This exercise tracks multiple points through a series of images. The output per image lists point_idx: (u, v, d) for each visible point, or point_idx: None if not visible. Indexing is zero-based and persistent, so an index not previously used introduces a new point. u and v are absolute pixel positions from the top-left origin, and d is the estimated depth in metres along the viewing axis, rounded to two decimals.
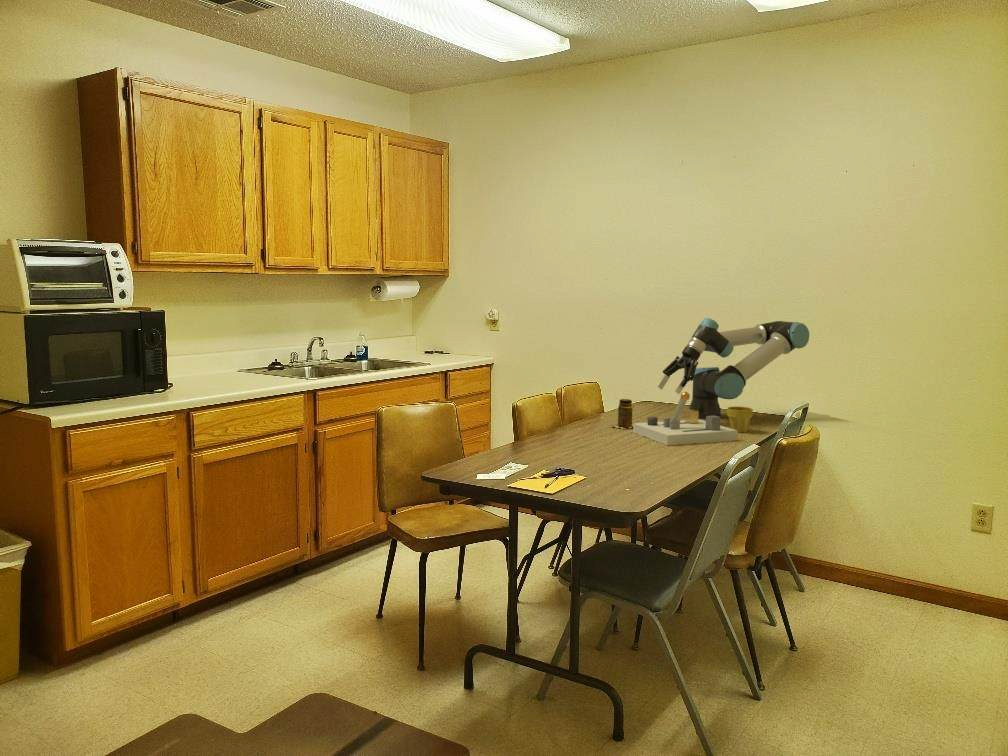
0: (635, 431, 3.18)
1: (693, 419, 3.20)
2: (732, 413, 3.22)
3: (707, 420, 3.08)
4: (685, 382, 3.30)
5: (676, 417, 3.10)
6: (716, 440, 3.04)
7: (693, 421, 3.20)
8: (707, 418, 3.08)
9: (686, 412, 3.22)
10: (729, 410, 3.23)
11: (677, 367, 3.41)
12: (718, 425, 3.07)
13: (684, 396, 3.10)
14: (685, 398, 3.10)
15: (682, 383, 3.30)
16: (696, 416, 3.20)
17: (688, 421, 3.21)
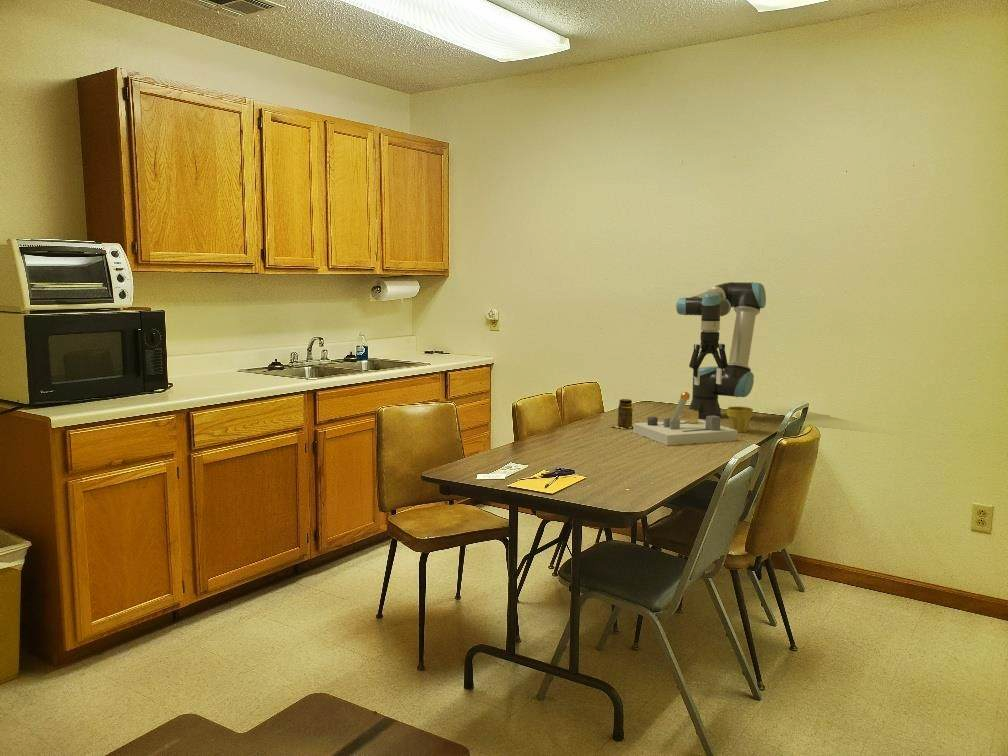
0: (635, 431, 3.18)
1: (693, 419, 3.20)
2: (732, 413, 3.22)
3: (707, 420, 3.08)
4: None
5: (676, 417, 3.10)
6: (716, 440, 3.04)
7: (693, 421, 3.20)
8: (707, 418, 3.08)
9: (686, 412, 3.22)
10: (729, 410, 3.23)
11: None
12: (718, 425, 3.07)
13: (684, 396, 3.10)
14: (685, 398, 3.10)
15: (722, 373, 3.24)
16: (696, 416, 3.20)
17: (688, 421, 3.21)
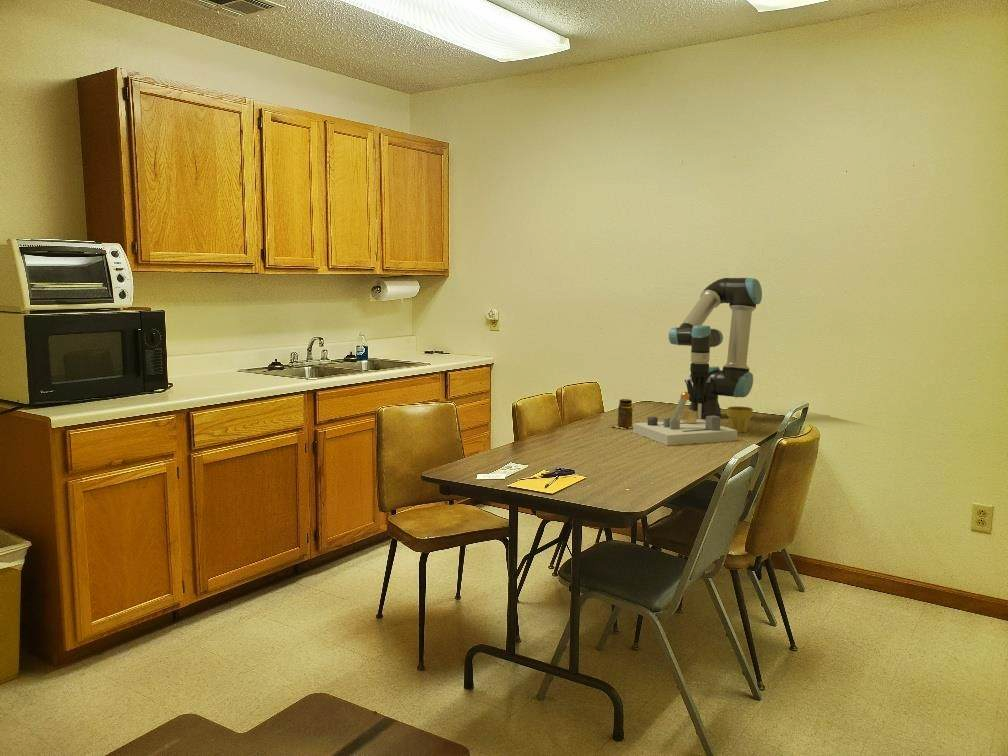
0: (635, 431, 3.18)
1: (692, 419, 3.20)
2: (732, 413, 3.22)
3: (707, 420, 3.08)
4: None
5: (676, 417, 3.10)
6: (716, 440, 3.04)
7: (691, 421, 3.20)
8: (707, 418, 3.08)
9: (684, 412, 3.21)
10: (729, 410, 3.23)
11: None
12: (718, 425, 3.07)
13: (684, 396, 3.10)
14: (685, 398, 3.10)
15: (701, 408, 3.22)
16: (694, 416, 3.20)
17: (686, 421, 3.20)
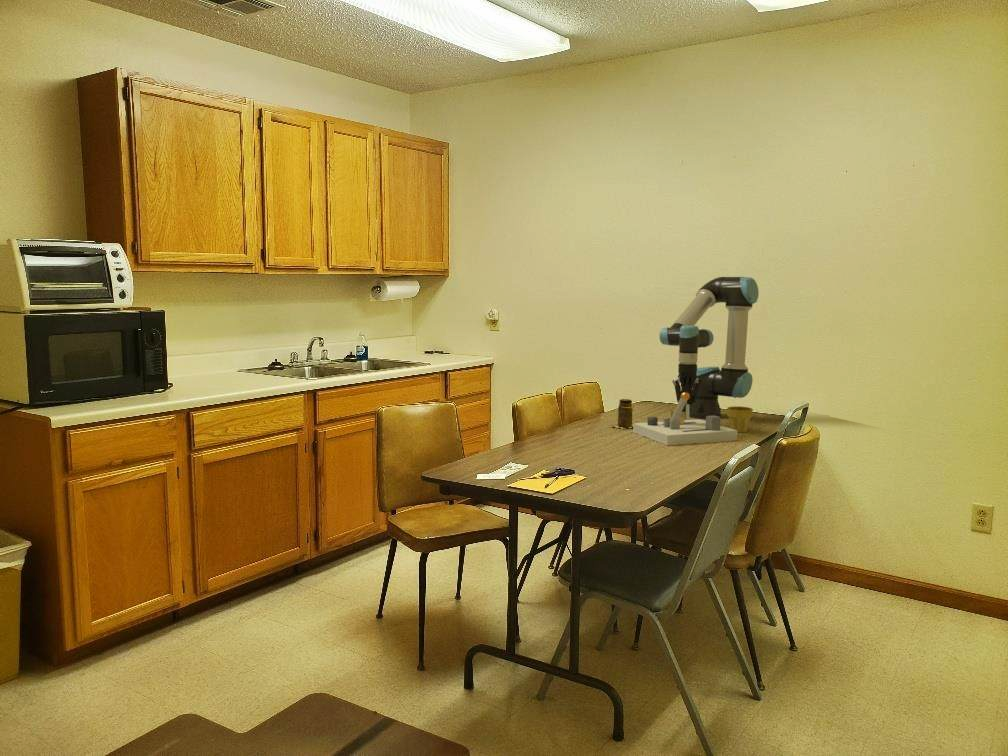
0: (635, 431, 3.18)
1: (680, 420, 3.18)
2: (732, 413, 3.22)
3: (707, 420, 3.08)
4: None
5: (676, 417, 3.10)
6: (716, 440, 3.04)
7: None
8: (707, 418, 3.08)
9: (672, 413, 3.19)
10: (729, 410, 3.23)
11: None
12: (718, 425, 3.07)
13: (684, 396, 3.10)
14: (685, 398, 3.10)
15: (689, 409, 3.20)
16: (682, 417, 3.18)
17: None
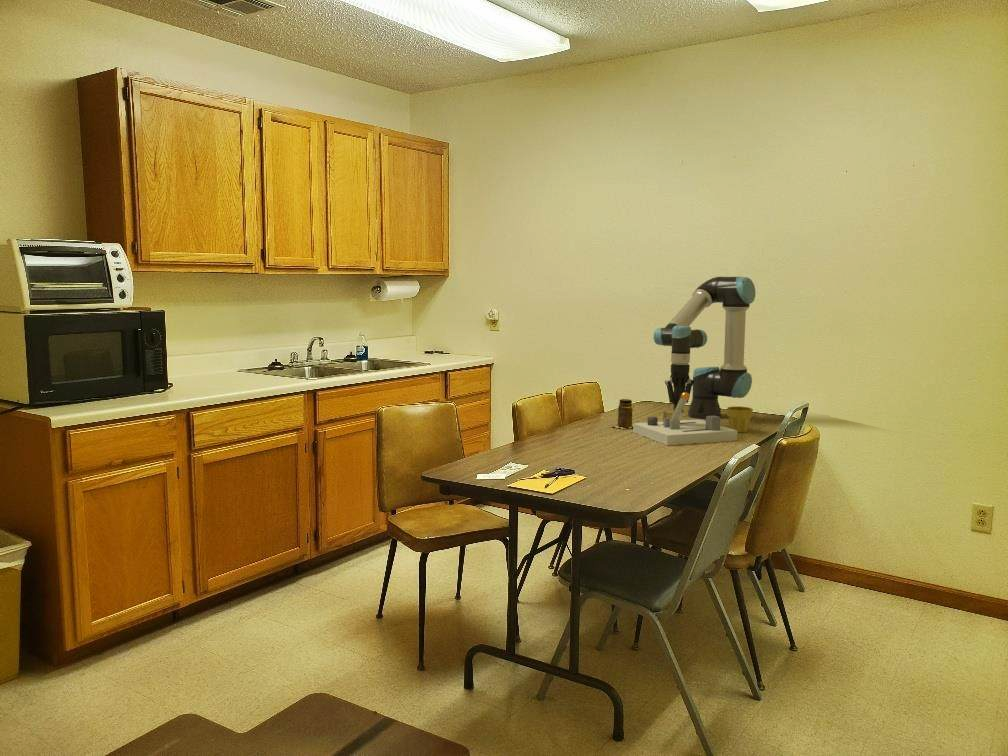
0: (635, 431, 3.18)
1: None
2: (732, 413, 3.22)
3: (707, 420, 3.08)
4: None
5: (676, 417, 3.10)
6: (716, 440, 3.04)
7: None
8: (707, 418, 3.08)
9: (664, 413, 3.18)
10: (729, 410, 3.23)
11: None
12: (718, 425, 3.07)
13: (684, 396, 3.10)
14: (685, 398, 3.10)
15: None
16: None
17: None
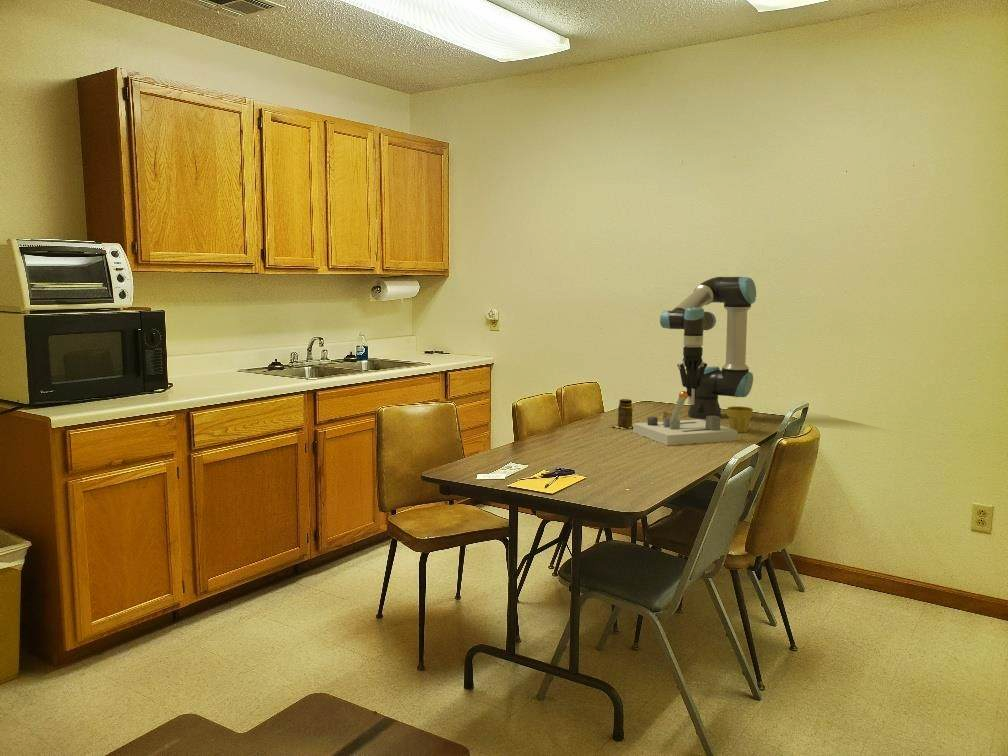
0: (635, 431, 3.18)
1: None
2: (732, 413, 3.22)
3: (707, 420, 3.08)
4: None
5: (676, 417, 3.10)
6: (716, 440, 3.04)
7: None
8: (707, 418, 3.08)
9: (664, 413, 3.18)
10: (729, 410, 3.23)
11: None
12: (718, 425, 3.07)
13: (682, 395, 3.09)
14: (683, 397, 3.10)
15: (694, 393, 3.12)
16: None
17: None
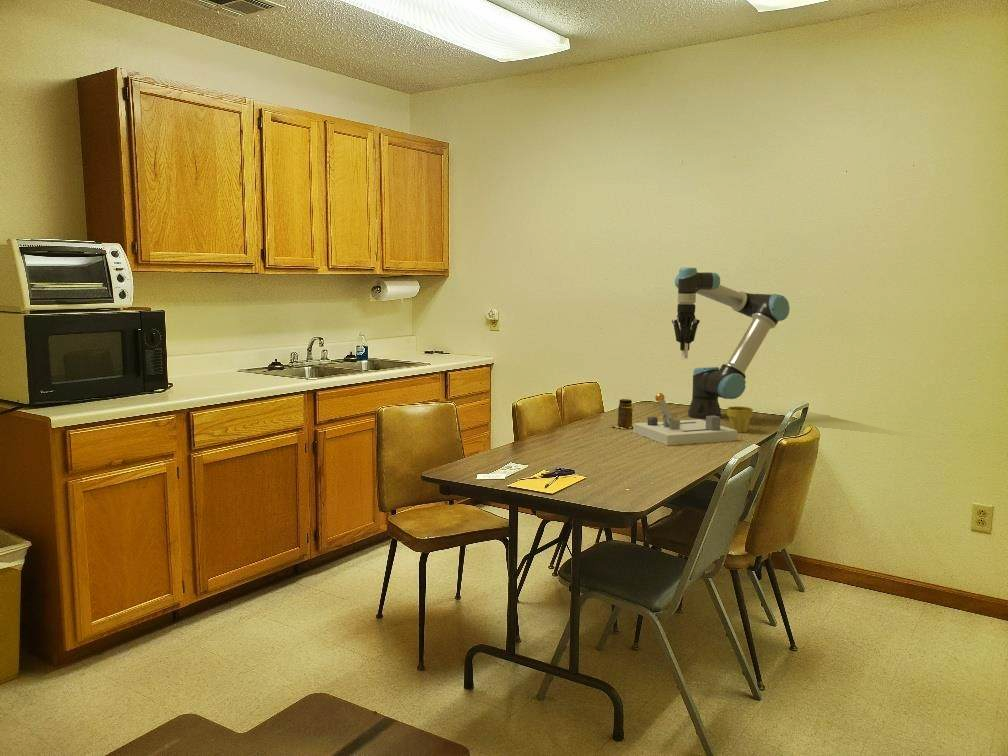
0: (635, 431, 3.18)
1: None
2: (732, 413, 3.22)
3: (707, 420, 3.08)
4: None
5: (670, 417, 3.09)
6: (716, 440, 3.04)
7: None
8: (707, 418, 3.08)
9: None
10: (729, 410, 3.23)
11: None
12: (718, 425, 3.07)
13: (659, 400, 3.06)
14: (661, 400, 3.06)
15: (688, 348, 3.35)
16: (674, 417, 3.17)
17: None
